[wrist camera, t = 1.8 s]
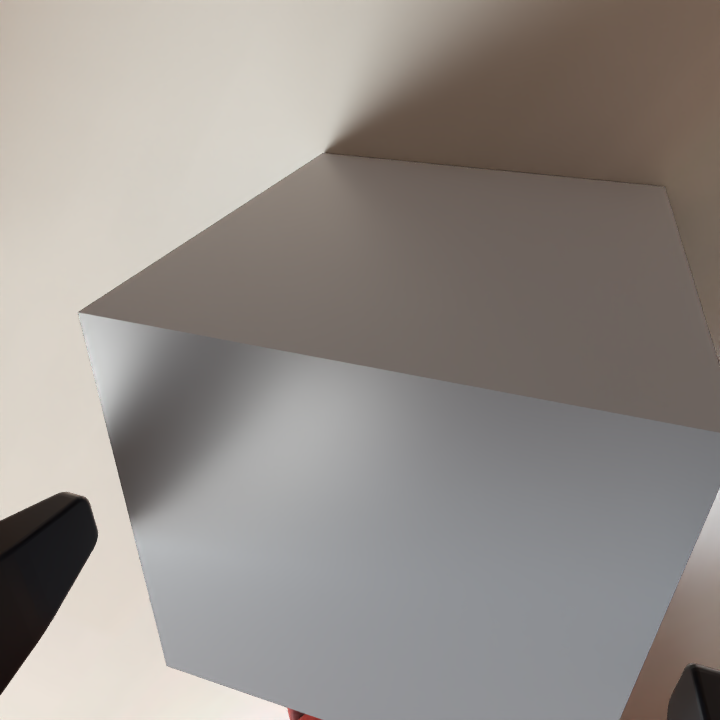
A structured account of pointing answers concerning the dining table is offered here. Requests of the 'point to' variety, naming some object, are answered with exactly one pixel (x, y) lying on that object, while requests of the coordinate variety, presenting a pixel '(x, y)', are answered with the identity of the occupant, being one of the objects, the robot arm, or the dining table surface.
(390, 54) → the dining table surface
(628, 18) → the dining table surface
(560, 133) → the dining table surface
